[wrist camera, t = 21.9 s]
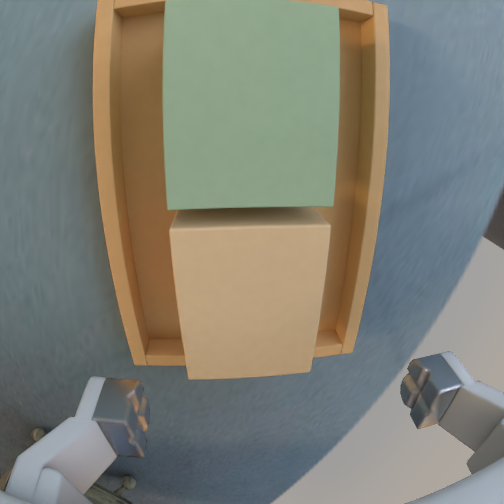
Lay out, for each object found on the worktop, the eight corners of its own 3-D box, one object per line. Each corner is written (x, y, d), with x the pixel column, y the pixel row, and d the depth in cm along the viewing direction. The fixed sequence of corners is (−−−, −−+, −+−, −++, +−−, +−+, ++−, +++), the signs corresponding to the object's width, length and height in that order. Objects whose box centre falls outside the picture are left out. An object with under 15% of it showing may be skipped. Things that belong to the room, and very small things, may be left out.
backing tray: (369, 15, 12) (388, 5, 10) (342, 333, 19) (352, 353, 17) (111, 10, 10) (97, -3, 9) (140, 343, 18) (134, 365, 16)
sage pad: (304, 35, 12) (339, 6, 8) (301, 180, 15) (333, 207, 10) (180, 33, 11) (165, -1, 7) (181, 182, 14) (166, 210, 10)
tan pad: (300, 193, 15) (332, 225, 11) (291, 316, 18) (311, 372, 14) (182, 195, 14) (168, 229, 10) (193, 321, 17) (188, 380, 13)
